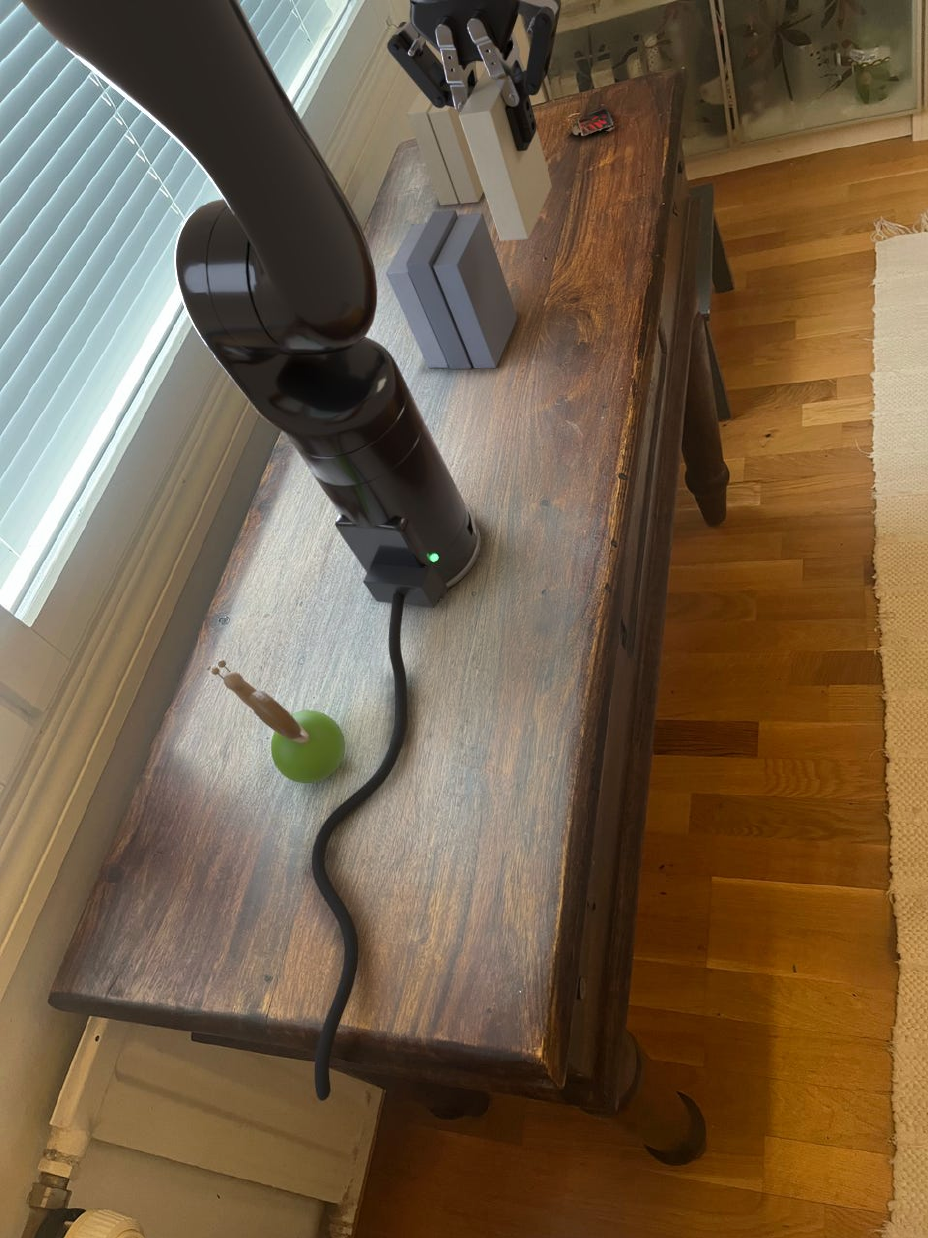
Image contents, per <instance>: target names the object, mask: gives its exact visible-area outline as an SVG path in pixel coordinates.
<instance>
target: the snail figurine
mask: <svg viewBox="0 0 928 1238" xmlns="http://www.w3.org/2000/svg"><path fill="white" fill-rule="evenodd" d="M226 665H227V662H226V660H225V659H220V660H219V661H218V662H217V666H213V667H212V669H211V674H212V675H214V676H216V675H218V676H219V677H220V678H221V679H222V681H223V684H224V685H225V687H226V689H228V690H229V691H232V692H233V693H234V694H235V695H236V696H237V697H238V698H239V700H240V701H241V702H242V703H244V704H245V705H246V706H247V707H249V708H250V709H251V710H253V713H254V714H255V715H256V717H258V718H259V719H260V720H261V722H263V723H264V724H265V725H266V726H268V727H269V728H270V729H271V730H272V731H274V732H273V735H272V738H271V743H270V753H271V759H272V761H273V764H274V766H275V767H276V768H277V770H278V772H280V774H282V775H283V776H284V777H285V778H286V779H288V780H290V781H292V782H295V783H298V784H302V785H303V784H305V785H310V784H316V783H320V782H322V781H324V780H326V779H328V778H330V777H331V776H332V775H333V774H334V773H335V772H336V771H337V770H338V768H339V767H340V765H341V763H342V761H343V759H344V755H345V749H346V742H345V737H344V733H343V731H342V729H341V728H340V726H339V724H338V723H337V722H336V720H334V719H333V718H332V717H331V716H330V715H327V713H324V712H321V711H317V710H312V709H311V710H310V709H307V710H305V709H304V710H300V711H297V712H294V713H292V714H291V712H290V711H288V710H287V709H286V708H284V707H283V706H282V705H281V704H280V703H279V702H278V701H276V700H275V699H274V698H273V697H272V696H270V695H269V694H268V693H267V692H265V691H264V690H258V689H256V688H255V687H254V686H253V685H252V684H250V683H249V682H247V681H246V680H245V679H244V677H243V676H242V674H240V672H237V671H231V670H230V669H229V668H228V667H227V666H226ZM220 668H221V669H222V668H225V669H226V671H228V672H226V674H224V676H222V674H220Z"/></svg>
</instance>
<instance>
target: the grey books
mask: <svg viewBox="0 0 928 1238" xmlns="http://www.w3.org/2000/svg"><path fill="white" fill-rule="evenodd" d="M385 276H386V278H387V280H388V283H389V284H390V286H391V289H392V291H393V294H394V296H395V298H396V300H397V303H398V304H399V307H400V309H401V311H402V313H403V316H404V317H405V320H406V322H407V324H408V326H409V328H410V331H411V333H412V335H413V337H414V340H415V342H416V344H417V346H418V349H419V351H420V353H421V355H422V357H423V359H424V362H425V364H426V367H427V368H428V369H432V368H435V369H438V368H442V369H443V368H446V369H447V368H449V369H450V370H471V369H496V368H497V367H498V365H499V362H500V359H501V357H502V354H503V352H504V350H505V348H506V346H507V343H508V341H509V339H510V336H511V334H512V331H513V329H514V327H515V325H516V322H517V320H518V315H517V311H516V308H515V305H514V303H513V300H512V297H511V294H510V291H509V288H508V284H507V282H506V279H505V276H504V272H503V270H502V267H501V263H500V260H499V257H498V254H497V252H496V248H495V245H494V243H493V240H492V237H491V234H490V231H489V227H488V225H487V222H486V219H485V216H484V213H483V212H476V213H474V212H473V213H463V214H459V215H458V213H457V210H456V209H447V210H437V211H435V210H434V211H432V212H431V215H430V216H429V218H428V220H427V222H425V223H415V224H414V223H413V224H411V225H410V227H409V229H408V230H407V231H406V234H405V236H404V238H403V239H402V242H401V244H400V246H399V247H398V249H397V250H396V253H395V254H394V256H393V259H392V260H391V261H390V264H389V266H388V267H387V269H386V272H385Z"/></svg>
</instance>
